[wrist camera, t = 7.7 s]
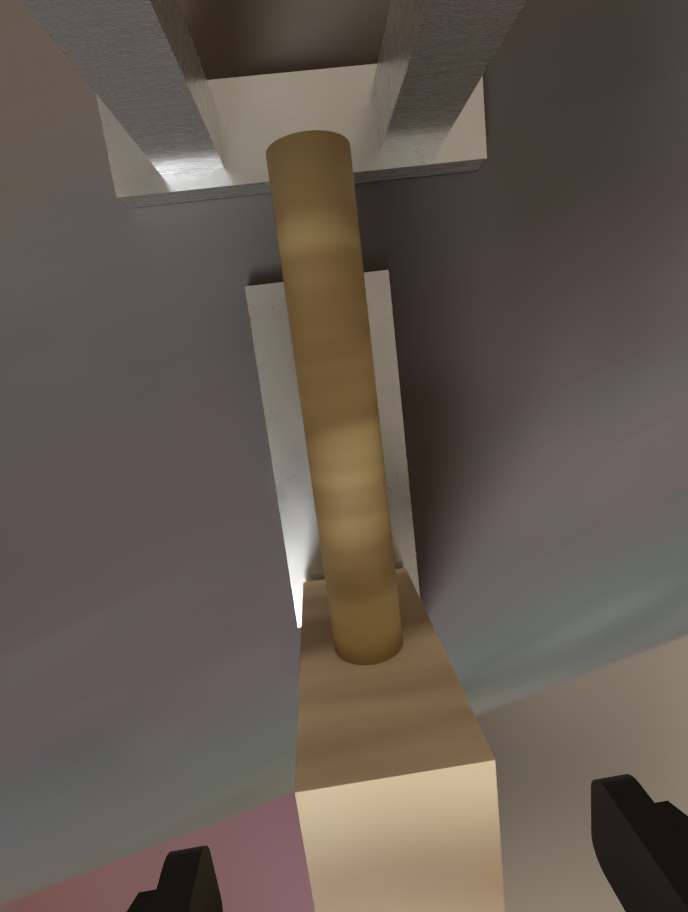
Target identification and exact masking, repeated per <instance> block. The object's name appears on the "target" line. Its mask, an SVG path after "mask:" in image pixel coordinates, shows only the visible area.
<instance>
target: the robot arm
mask: <svg viewBox="0 0 688 912" xmlns="http://www.w3.org/2000/svg"><path fill="white" fill-rule="evenodd" d="M591 831H592V832H591V834H592V842H593V846H594V850H595V853H596V856H597V859H598V862H599V864H600V866H601V868H602V870H603V873H604V874H605V876H606V878H607V880H608V882H609V883H610V885H611V887H612V888H613V890H614V892H615V894H616V896H617V897H618V899H619V901H620V903H621V904H622V906H623V908H624V910H625V911H626V912H688V816H687V815H685V814H684V813H683V812H682V811H680V810H679V809H678V808H676V807H675V806H674V805H672V804H671V803H670V802H668V801H664V802H658V803H654V802H653V800H652V799H651V798H650V796H649V795H648V794H647V793H646V791H645V790H644V789H643V788H642V786H641V785H640V784H639V783H638V781H637V780H636V779H635V778H634V777H633V776H631V775H629V774H625V775H619V776H613V777H608V778H601V779H596V780H593V781H592V783H591ZM127 912H223V908H222V900H221V895H220V891H219V887H218V883H217V878H216V874H215V870H214V866H213V862H212V857H211V853H210V849H209V847H208V846H200V847H195V848H189V849H184V850H177V851H172V852H169V854H168V855H167V857H166V859H165V862H164V865H163V868H162V872H161V875H160V879H159V883H158V886H157V889H156V890H151V891H145V892H140V893H138V895H137V896H136V898H135V900H134V901H133V903H132V904H131V906H130V908H129V909H128V911H127Z"/></svg>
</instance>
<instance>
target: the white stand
mask: <svg viewBox="0 0 688 912" xmlns="http://www.w3.org/2000/svg"><path fill="white" fill-rule="evenodd" d="M22 1H23V2H24V3H25V5H26V6H27V7H28V8H29V10H30V11H31V12H32V13H33V15H34V16H35V17H36V18H37V20H38V21H39V22H40V23H41V25H42V26H43V27H44V28H45V30H46V31H47V32H48V34H49V35H50V36H51V37H52V39H53V40H54V41H55V42H56V44H57V45H58V46H59V47H60V49H61V50H62V51H63V52H64V54H65V55H66V56H67V57H68V59H69V60H70V61H71V62H72V64H73V65H74V66H75V67H76V69H77V70H78V71H79V73H80V74H81V75H82V76H83V78H84V79H85V80H86V81H87V83H88V84H89V85H90V86H91V88H92V89H93V90H94V91H95V93H96V97H97V102H98V107H99V112H100V117H101V122H102V127H103V132H104V137H105V142H106V147H107V152H108V157H109V162H110V167H111V172H112V177H113V182H114V187H115V192H116V197H117V198H118V199H119V200H120V201H121V202H122V203H123V204H125V205H126V206H127V207H128V208H134V207H143V206H152V205H162V204H171V203H180V202H190V201H199V200H208V199H217V198H227V197H236V196H245V195H255V194H264V193H271V189H270V182H269V174H268V167H267V160H266V150H267V148H268V147H269V146H270V145H271V144H272V143H273V142H274V141H276V140H278V139H279V138H282V137H284V136H286V135H289V134H293V133H296V132H301V131H309V130H325V131H331V132H336V133H339V134H341V135H343V136H344V137H346V138H347V139H348V140H349V142H350V148H351V157H352V167H353V176H354V184H357V183H366V182H376V181H385V180H394V179H403V178H413V177H422V176H431V175H441V174H450V173H459V172H468V171H477V169H478V168H479V167H480V166H481V165H482V164H483V162H484V161H485V160H486V159H487V149H486V130H485V112H484V94H483V74H484V72H485V71H486V69H487V67H488V66H489V64H490V62H491V60H492V59H493V57H494V55H495V54H496V52H497V50H498V49H499V47H500V45H501V44H502V42H503V40H504V38H505V37H506V35H507V33H508V32H509V30H510V28H511V27H512V25H513V23H514V22H515V20H516V18H517V16H518V15H519V13H520V11H521V10H522V8H523V6H524V5H525V3H526V1H527V0H391V3H390V8H389V12H388V17H387V22H386V26H385V31H384V35H383V40H382V45H381V49H380V54H379V58H378V63H377V64H368V65H358V66H347V67H337V68H326V69H316V70H306V71H295V72H285V73H275V74H264V75H254V76H244V77H233V78H223V79H213V80H207V79H206V76H205V73H204V71H203V68H202V65H201V62H200V60H199V57H198V54H197V52H196V49H195V46H194V43H193V41H192V38H191V35H190V33H189V30H188V27H187V24H186V22H185V19H184V16H183V13H182V11H181V8H180V5H179V3H178V0H22ZM364 279H365V289H366V298H367V307H368V317H369V326H370V335H371V345H372V354H373V364H374V373H375V382H376V392H377V401H378V410H379V420H380V429H381V438H382V448H383V457H384V467H385V476H386V485H387V495H388V504H389V513H390V523H391V532H392V542H393V551H394V560H395V569H400V568H406V569H407V571H408V573H409V576H410V578H411V580H412V582H413V584H414V586H415V589H416V591H417V593H418V595H419V597H420V591H419V580H418V570H417V559H416V549H415V539H414V528H413V518H412V508H411V497H410V487H409V477H408V466H407V456H406V446H405V435H404V425H403V415H402V404H401V394H400V384H399V373H398V363H397V353H396V342H395V332H394V321H393V311H392V301H391V290H390V280H389V270H382V271H374V272H365V273H364ZM245 291H246V298H247V304H248V311H249V317H250V323H251V330H252V336H253V343H254V349H255V356H256V362H257V368H258V375H259V381H260V388H261V394H262V401H263V407H264V413H265V420H266V426H267V433H268V439H269V446H270V452H271V458H272V465H273V471H274V478H275V484H276V491H277V497H278V503H279V510H280V516H281V523H282V529H283V535H284V542H285V548H286V555H287V561H288V568H289V574H290V580H291V587H292V593H293V600H294V606H295V613H296V619H297V625H298V627H301V626H302V600H303V582H310V581H317V580H324V579H325V575H324V568H323V561H322V554H321V547H320V540H319V532H318V525H317V518H316V511H315V504H314V497H313V489H312V482H311V475H310V468H309V461H308V454H307V447H306V439H305V432H304V425H303V418H302V411H301V404H300V396H299V389H298V382H297V375H296V368H295V361H294V353H293V346H292V339H291V332H290V325H289V318H288V310H287V303H286V296H285V289H284V282H279V283H270V284H261V285H253V286H245Z"/></svg>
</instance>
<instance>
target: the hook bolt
mask: <svg viewBox="0 0 688 912" xmlns="http://www.w3.org/2000/svg"><path fill="white" fill-rule="evenodd" d="M266 160H267V167H268V174H269V182H270V189H271V196H272V203H273V210H274V217H275V225H276V232H277V239H278V246H279V253H280V260H281V267H282V275H283V282H284V289H285V296H286V303H287V310H288V318H289V325H290V332H291V339H292V346H293V353H294V361H295V368H296V375H297V382H298V389H299V396H300V404H301V411H302V418H303V425H304V432H305V439H306V447H307V454H308V461H309V468H310V475H311V482H312V489H313V497H314V504H315V511H316V518H317V525H318V532H319V540H320V547H321V554H322V561H323V568H324V575H325V579H324V580H317V581H310V582H303V600H302V626H301V651H300V677H299V703H298V728H297V754H296V780H295V795H296V802H297V807H298V813H299V819H300V825H301V831H302V837H303V843H304V849H305V854H306V860H307V866H308V871H309V877H310V884H311V890H312V895H313V901H314V907H315V912H505V901H504V887H503V872H502V856H501V842H500V827H499V811H498V797H497V781H496V766H495V759H494V757H493V754H492V752H491V750H490V748H489V746H488V744H487V742H486V740H485V737H484V735H483V733H482V731H481V729H480V726H479V724H478V722H477V720H476V718H475V716H474V714H473V711H472V709H471V707H470V705H469V703H468V701H467V698H466V696H465V694H464V692H463V690H462V688H461V686H460V683H459V681H458V679H457V677H456V675H455V673H454V670H453V668H452V666H451V664H450V662H449V660H448V658H447V655H446V653H445V651H444V649H443V647H442V645H441V642H440V640H439V638H438V636H437V634H436V632H435V629H434V627H433V625H432V623H431V621H430V619H429V617H428V614H427V612H426V610H425V608H424V606H423V604H422V601H421V599H420V597H419V595H418V593H417V591H416V589H415V586H414V584H413V582H412V580H411V578H410V576H409V573H408V571H407V569H406V568H400V569H395V560H394V551H393V542H392V532H391V523H390V513H389V504H388V495H387V485H386V476H385V467H384V457H383V448H382V438H381V429H380V420H379V410H378V401H377V392H376V382H375V373H374V364H373V354H372V345H371V335H370V326H369V317H368V307H367V298H366V289H365V279H364V270H363V260H362V251H361V242H360V232H359V223H358V214H357V204H356V195H355V185H354V176H353V167H352V157H351V148H350V142H349V140H348V139H347V138H346V137H344V136H343V135H341V134H339V133H336V132H331V131H325V130H309V131H301V132H296V133H293V134H289V135H286V136H284V137H282V138H279V139H278V140H276V141H274V142H273V143H272V144H271V145H270V146H269V147H268V148H267V150H266Z"/></svg>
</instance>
